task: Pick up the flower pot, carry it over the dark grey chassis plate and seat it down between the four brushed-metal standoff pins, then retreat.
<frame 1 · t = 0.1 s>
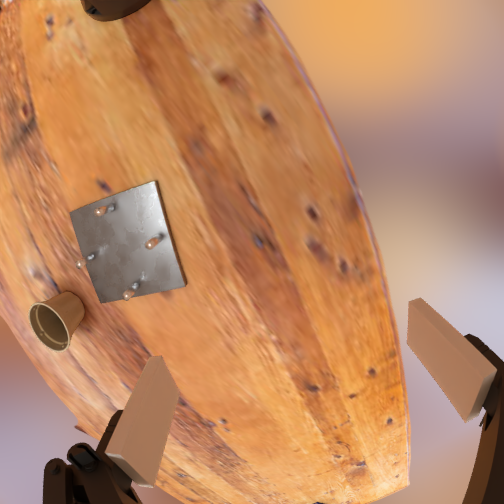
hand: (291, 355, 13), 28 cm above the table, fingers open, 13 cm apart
chassis: (125, 246, 41), on the table
flower pot: (73, 306, 44), on the table
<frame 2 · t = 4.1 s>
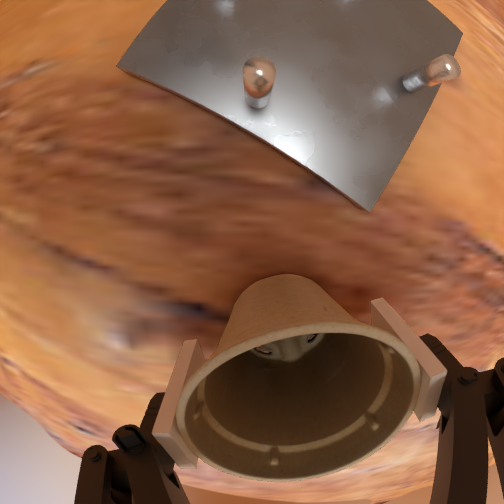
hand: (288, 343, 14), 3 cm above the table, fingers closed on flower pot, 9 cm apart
chassis: (314, 26, 12), on the table
flower pot: (283, 317, 17), on the table, touching gripper
when the fingers open (5 cm above the table, at t = 9.5 s): flower pot drops 1 cm, resting on chassis.
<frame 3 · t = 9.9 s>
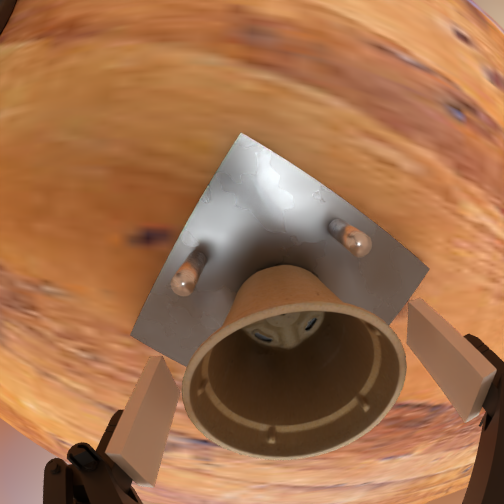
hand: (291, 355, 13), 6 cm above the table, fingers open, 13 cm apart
chassis: (279, 300, 20), on the table
flower pot: (282, 306, 18), point 1 cm above the table, touching chassis
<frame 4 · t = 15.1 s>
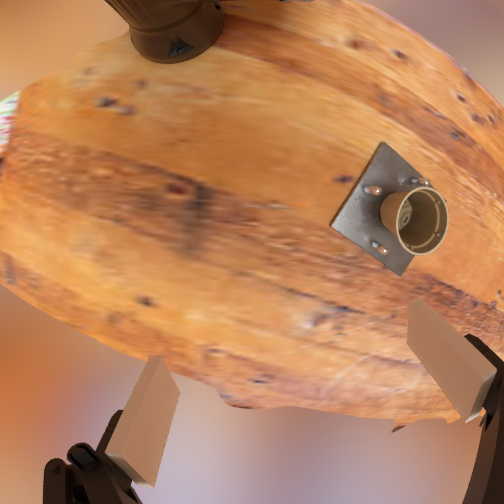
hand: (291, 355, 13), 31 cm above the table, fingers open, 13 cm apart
chassis: (392, 211, 42), on the table
flower pot: (395, 211, 41), point 1 cm above the table, touching chassis
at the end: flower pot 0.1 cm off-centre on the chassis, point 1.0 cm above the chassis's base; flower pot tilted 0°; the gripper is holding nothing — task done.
